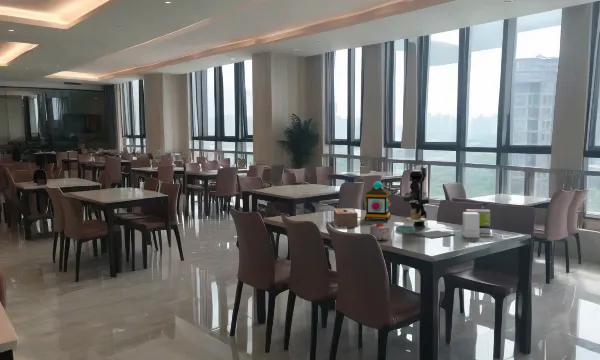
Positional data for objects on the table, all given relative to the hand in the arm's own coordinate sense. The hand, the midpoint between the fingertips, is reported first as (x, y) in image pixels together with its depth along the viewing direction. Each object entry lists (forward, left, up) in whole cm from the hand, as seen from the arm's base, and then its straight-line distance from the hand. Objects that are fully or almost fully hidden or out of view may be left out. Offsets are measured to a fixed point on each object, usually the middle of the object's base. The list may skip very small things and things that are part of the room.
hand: (415, 213), depth 317 cm
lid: (0, 0, -5) cm, 5 cm away
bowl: (+3, -7, -13) cm, 15 cm away
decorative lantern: (-10, -55, -13) cm, 57 cm away
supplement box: (-22, +26, -13) cm, 37 cm away
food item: (+32, +3, -13) cm, 35 cm away
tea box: (-36, +19, -13) cm, 43 cm away
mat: (-6, +11, -13) cm, 18 cm away
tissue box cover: (+21, -53, -14) cm, 58 cm away
